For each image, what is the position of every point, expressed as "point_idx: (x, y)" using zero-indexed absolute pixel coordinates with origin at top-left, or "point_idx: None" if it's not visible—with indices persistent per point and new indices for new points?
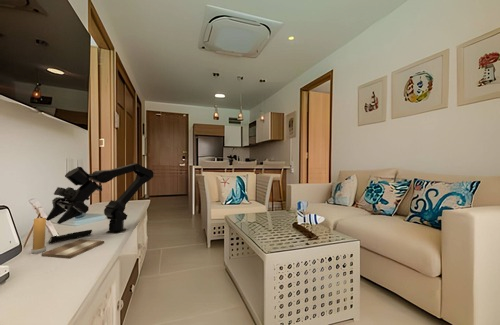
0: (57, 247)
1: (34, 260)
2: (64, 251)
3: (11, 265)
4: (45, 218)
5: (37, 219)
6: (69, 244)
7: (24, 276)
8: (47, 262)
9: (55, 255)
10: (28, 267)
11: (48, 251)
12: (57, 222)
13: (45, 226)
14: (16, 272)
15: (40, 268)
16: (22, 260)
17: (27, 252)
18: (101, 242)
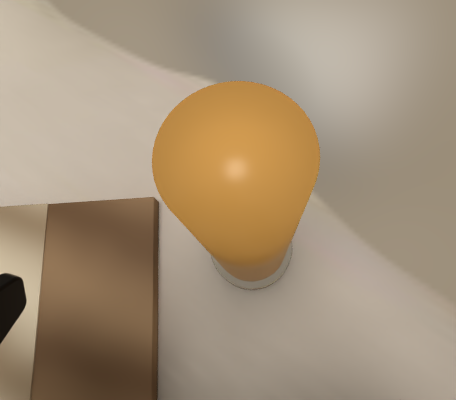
0: (152, 313)
1: (134, 147)
2: (27, 256)
3: (188, 76)
4: (166, 202)
5: (214, 105)
6: (118, 395)
7: (8, 24)
8: (37, 146)
9: (49, 206)
10: (78, 83)
11: (141, 234)
12: (6, 274)
13: (202, 244)
14: (80, 37)
15: (9, 90)
16: None
17: (317, 226)
18: None
